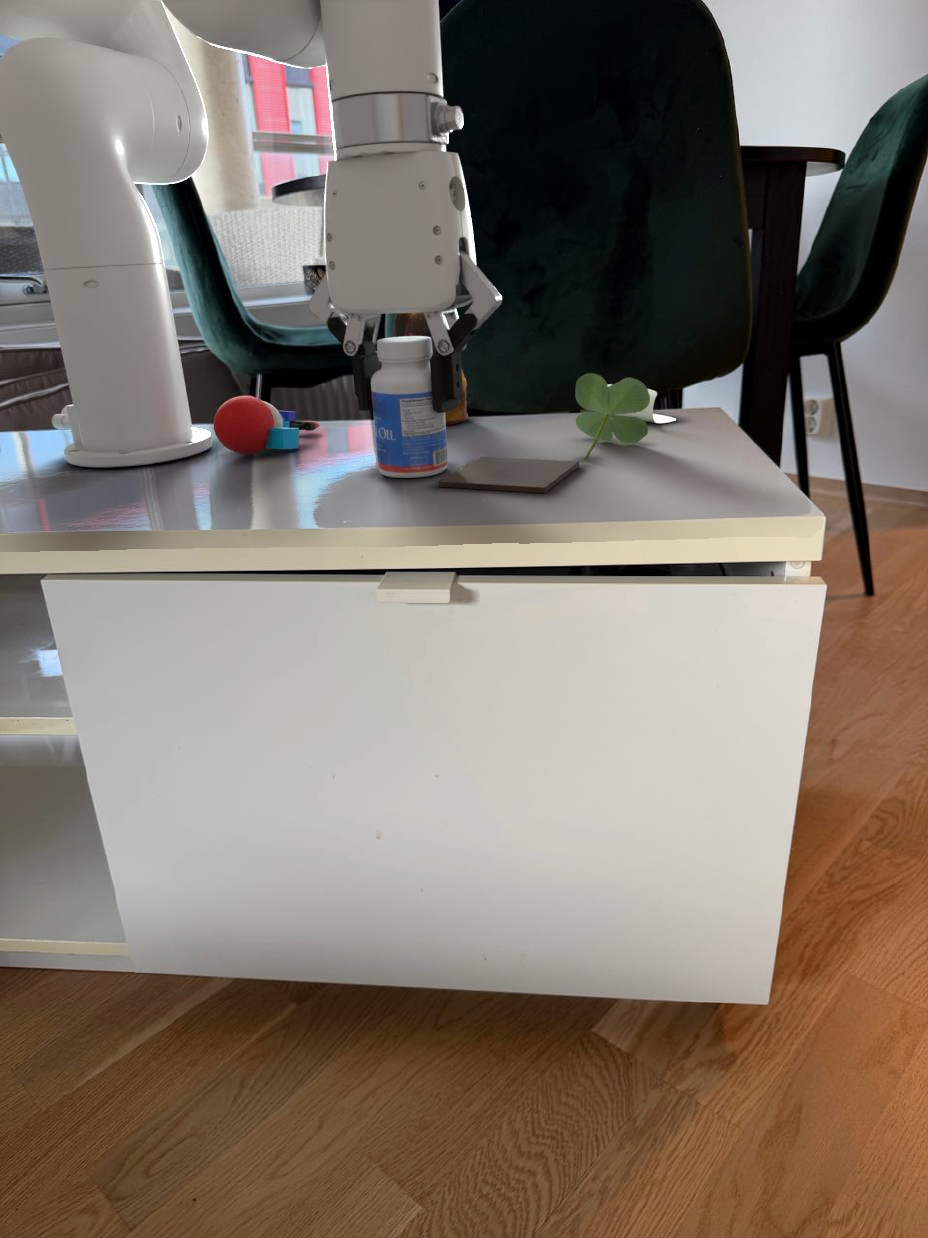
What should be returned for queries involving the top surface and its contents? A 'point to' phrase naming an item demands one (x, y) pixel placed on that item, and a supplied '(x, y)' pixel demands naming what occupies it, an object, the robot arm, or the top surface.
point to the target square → (510, 474)
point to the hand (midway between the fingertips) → (409, 406)
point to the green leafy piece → (611, 409)
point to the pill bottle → (407, 410)
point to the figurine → (418, 327)
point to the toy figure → (257, 426)
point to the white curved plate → (649, 411)
